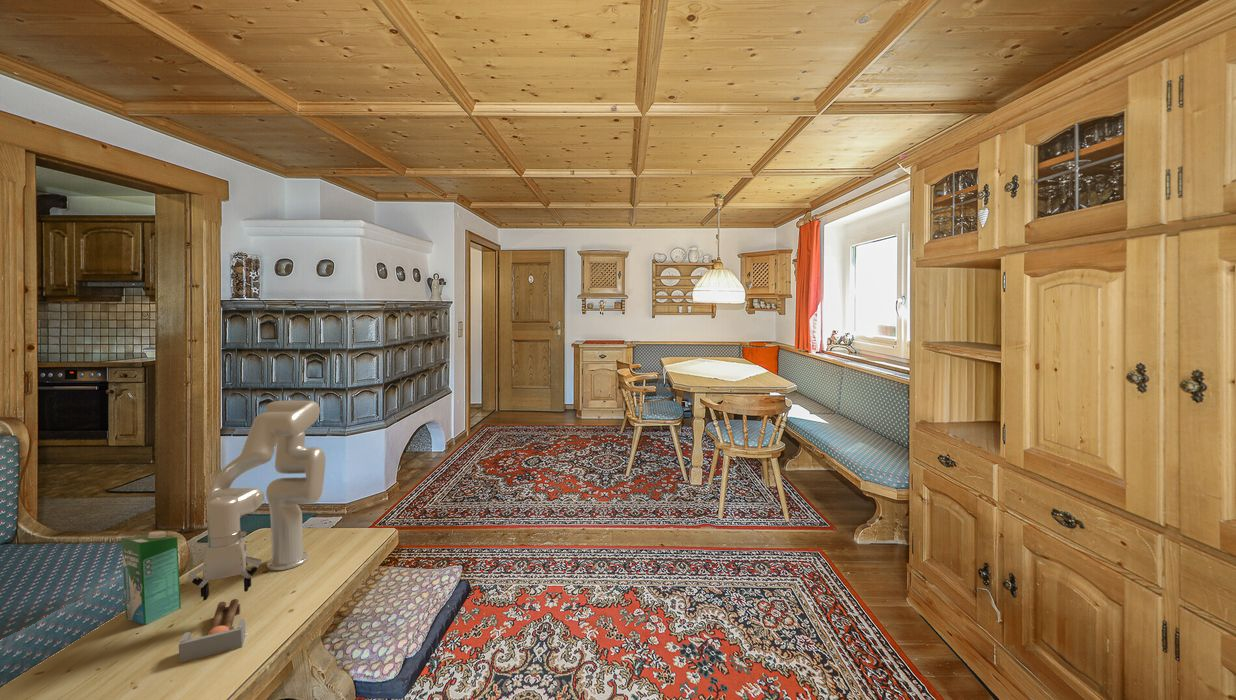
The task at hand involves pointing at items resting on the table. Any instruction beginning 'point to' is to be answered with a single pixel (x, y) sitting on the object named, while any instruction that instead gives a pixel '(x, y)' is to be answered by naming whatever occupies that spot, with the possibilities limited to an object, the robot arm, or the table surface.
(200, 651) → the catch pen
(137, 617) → the milk carton
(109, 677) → the table surface
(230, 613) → the brown piece
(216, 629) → the ball
